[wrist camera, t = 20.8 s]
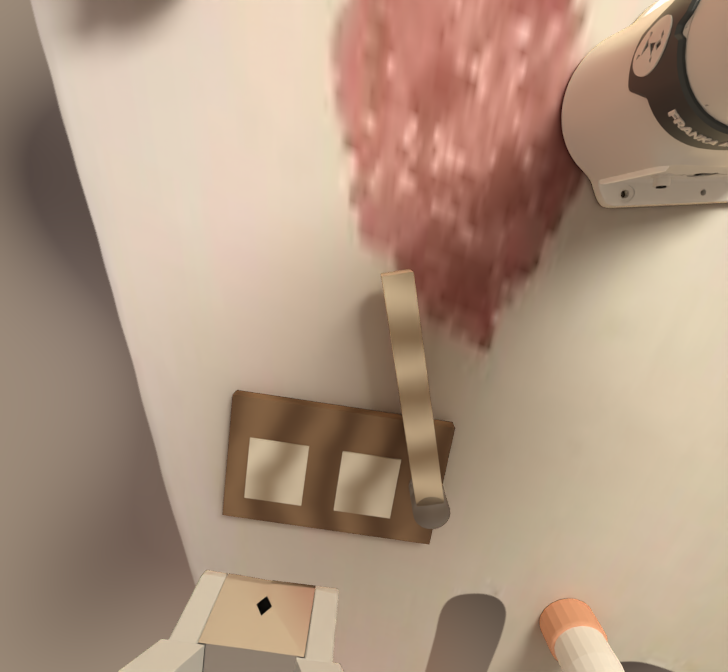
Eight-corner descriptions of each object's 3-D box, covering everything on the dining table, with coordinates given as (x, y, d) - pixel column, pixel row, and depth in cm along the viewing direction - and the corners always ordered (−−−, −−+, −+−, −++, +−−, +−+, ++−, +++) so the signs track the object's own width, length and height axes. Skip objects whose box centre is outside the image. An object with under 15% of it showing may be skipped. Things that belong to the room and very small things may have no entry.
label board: (452, 422, 48) (456, 430, 46) (427, 535, 51) (429, 548, 49) (236, 390, 47) (230, 396, 45) (226, 507, 51) (220, 518, 49)
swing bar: (445, 503, 47) (452, 526, 44) (411, 507, 48) (415, 531, 44) (414, 268, 41) (418, 270, 37) (376, 274, 42) (376, 277, 38)
